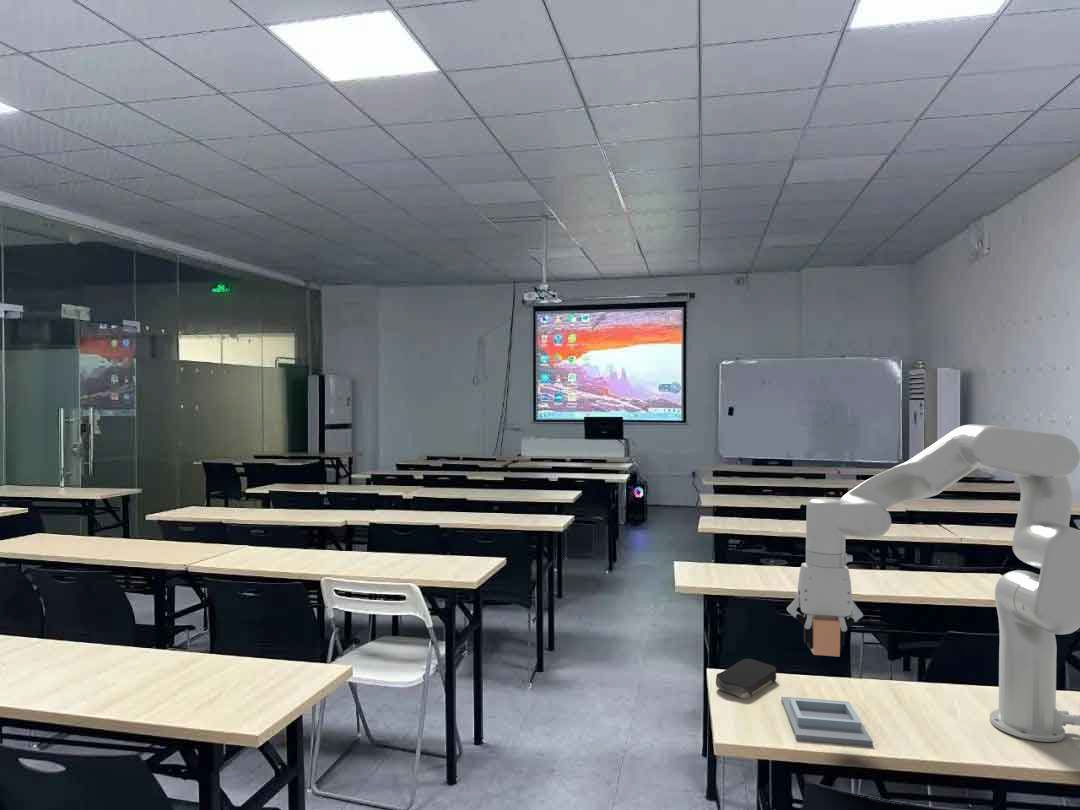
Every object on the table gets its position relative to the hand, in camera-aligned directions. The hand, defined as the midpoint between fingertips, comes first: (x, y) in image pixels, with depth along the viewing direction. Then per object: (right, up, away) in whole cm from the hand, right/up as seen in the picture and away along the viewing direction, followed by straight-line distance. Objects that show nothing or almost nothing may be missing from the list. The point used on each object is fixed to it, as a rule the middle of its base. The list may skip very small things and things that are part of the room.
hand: (823, 646), depth 145 cm
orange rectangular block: (0, -1, 0) cm, 1 cm away
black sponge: (-10, -16, +19) cm, 27 cm away
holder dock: (0, -16, 0) cm, 16 cm away
